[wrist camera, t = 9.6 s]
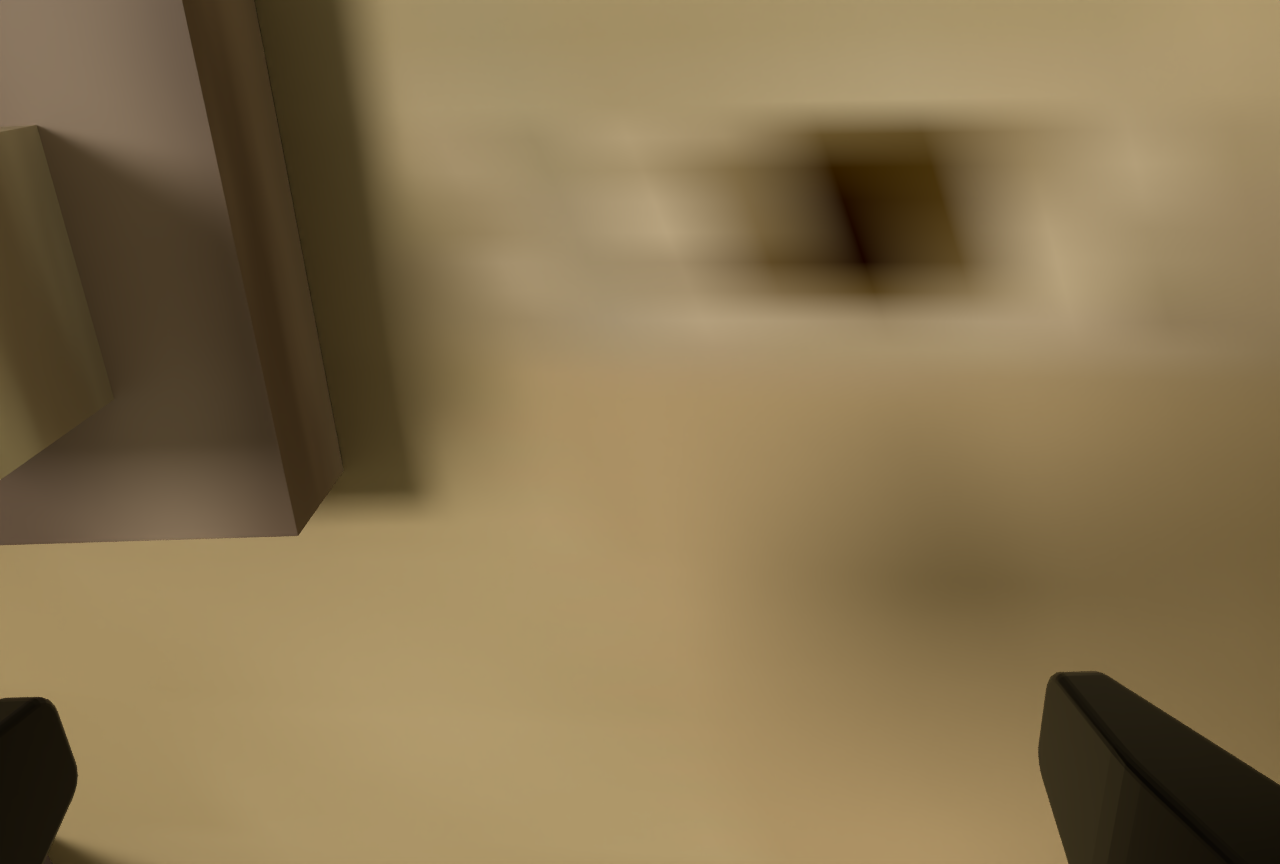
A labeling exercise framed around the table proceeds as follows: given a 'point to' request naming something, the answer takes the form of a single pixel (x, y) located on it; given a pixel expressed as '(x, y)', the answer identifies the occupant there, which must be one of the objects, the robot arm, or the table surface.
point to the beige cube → (40, 311)
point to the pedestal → (171, 276)
